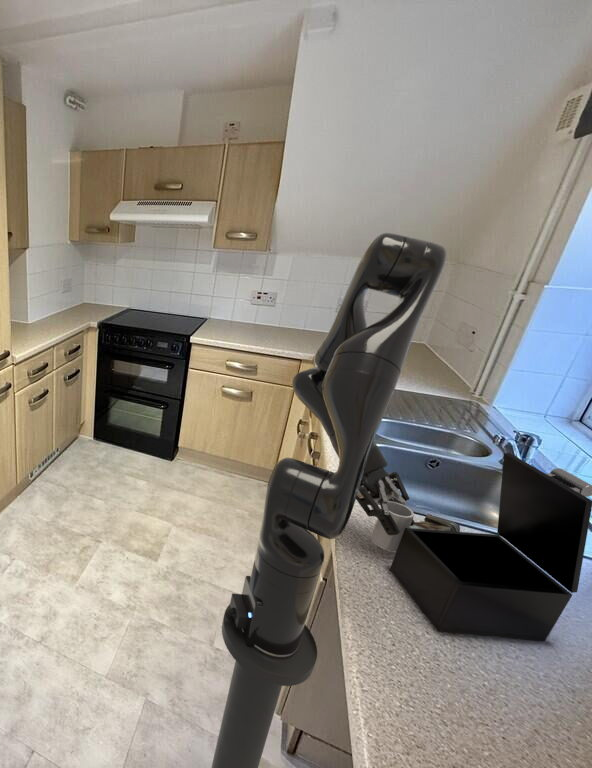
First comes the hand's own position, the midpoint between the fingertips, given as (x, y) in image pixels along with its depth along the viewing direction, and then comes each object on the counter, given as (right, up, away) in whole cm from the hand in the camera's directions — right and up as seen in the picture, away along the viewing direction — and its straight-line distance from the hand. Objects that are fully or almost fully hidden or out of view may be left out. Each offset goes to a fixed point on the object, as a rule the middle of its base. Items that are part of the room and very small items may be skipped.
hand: (402, 529), depth 83 cm
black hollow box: (+4, -11, -8) cm, 14 cm away
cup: (-1, -4, +3) cm, 5 cm away
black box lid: (+10, +7, -15) cm, 19 cm away
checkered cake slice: (+11, -5, +8) cm, 14 cm away
